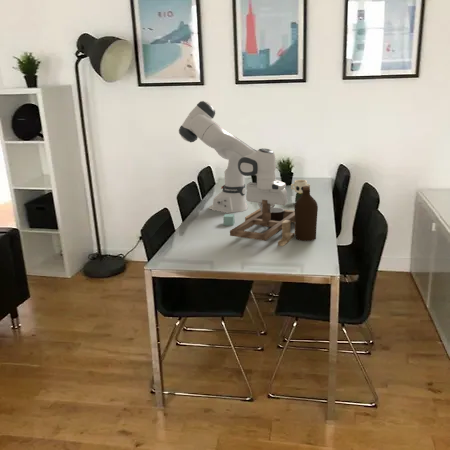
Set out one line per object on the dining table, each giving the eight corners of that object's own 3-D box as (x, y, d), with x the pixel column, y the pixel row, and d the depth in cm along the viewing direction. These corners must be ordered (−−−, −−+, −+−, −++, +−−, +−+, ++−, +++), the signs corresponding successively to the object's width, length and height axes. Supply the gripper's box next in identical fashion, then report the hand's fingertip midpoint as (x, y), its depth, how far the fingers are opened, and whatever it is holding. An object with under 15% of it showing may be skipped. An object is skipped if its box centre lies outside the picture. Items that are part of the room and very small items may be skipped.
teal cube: (223, 226, 264) (223, 216, 263) (225, 223, 269) (224, 214, 268) (233, 226, 264) (233, 216, 262) (234, 223, 268) (234, 214, 267)
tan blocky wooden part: (277, 246, 232) (277, 225, 229) (289, 237, 244) (289, 217, 240) (283, 247, 231) (283, 226, 228) (294, 237, 242) (294, 217, 239)
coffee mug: (283, 232, 251) (283, 212, 248) (266, 231, 253) (265, 212, 250) (285, 225, 262) (285, 206, 259) (268, 224, 263) (268, 205, 260)
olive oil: (311, 243, 234) (311, 190, 226) (290, 240, 240) (290, 187, 232) (321, 237, 242) (322, 185, 234) (300, 233, 248) (301, 183, 240)
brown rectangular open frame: (230, 235, 234) (229, 208, 230) (267, 212, 268) (267, 188, 264) (265, 240, 226) (265, 212, 222) (299, 215, 260) (299, 190, 256)
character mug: (290, 204, 299) (290, 182, 295) (291, 201, 306) (291, 179, 302) (309, 204, 297) (310, 182, 293) (310, 201, 304) (310, 179, 300)
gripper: (243, 183, 243) (244, 211, 247) (283, 186, 234) (283, 216, 238) (249, 180, 248) (250, 208, 253) (288, 183, 239) (288, 212, 243)
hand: (266, 211), depth 245 cm, fingers closed on brown rectangular open frame, 3 cm apart
